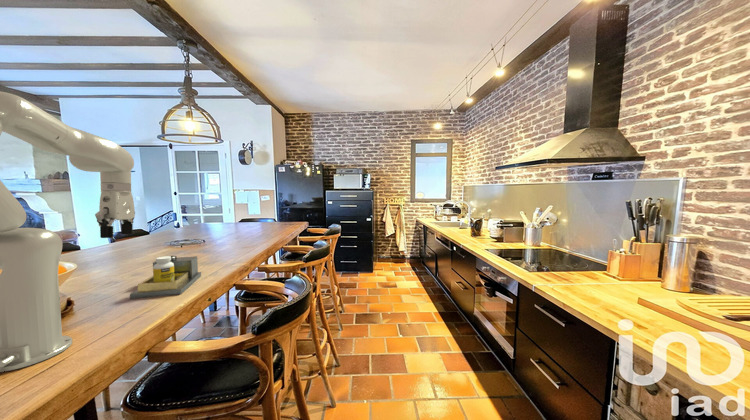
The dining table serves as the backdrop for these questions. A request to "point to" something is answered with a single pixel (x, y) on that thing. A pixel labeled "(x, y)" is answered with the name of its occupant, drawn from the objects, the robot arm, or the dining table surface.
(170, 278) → the pill bottle
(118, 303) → the dining table surface
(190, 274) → the tray
